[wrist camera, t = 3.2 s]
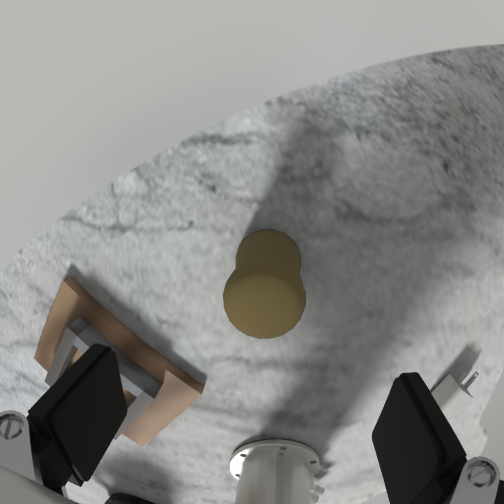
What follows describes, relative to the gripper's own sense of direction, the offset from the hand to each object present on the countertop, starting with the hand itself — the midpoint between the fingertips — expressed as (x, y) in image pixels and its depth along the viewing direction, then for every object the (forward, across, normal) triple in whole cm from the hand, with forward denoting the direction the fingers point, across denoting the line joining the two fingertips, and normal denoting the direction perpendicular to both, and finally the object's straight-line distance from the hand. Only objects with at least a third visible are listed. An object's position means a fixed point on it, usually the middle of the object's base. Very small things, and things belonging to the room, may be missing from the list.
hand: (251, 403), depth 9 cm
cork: (+20, 0, +1) cm, 20 cm away
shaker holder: (+19, +19, +17) cm, 32 cm away
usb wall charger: (+20, -26, +15) cm, 36 cm away
